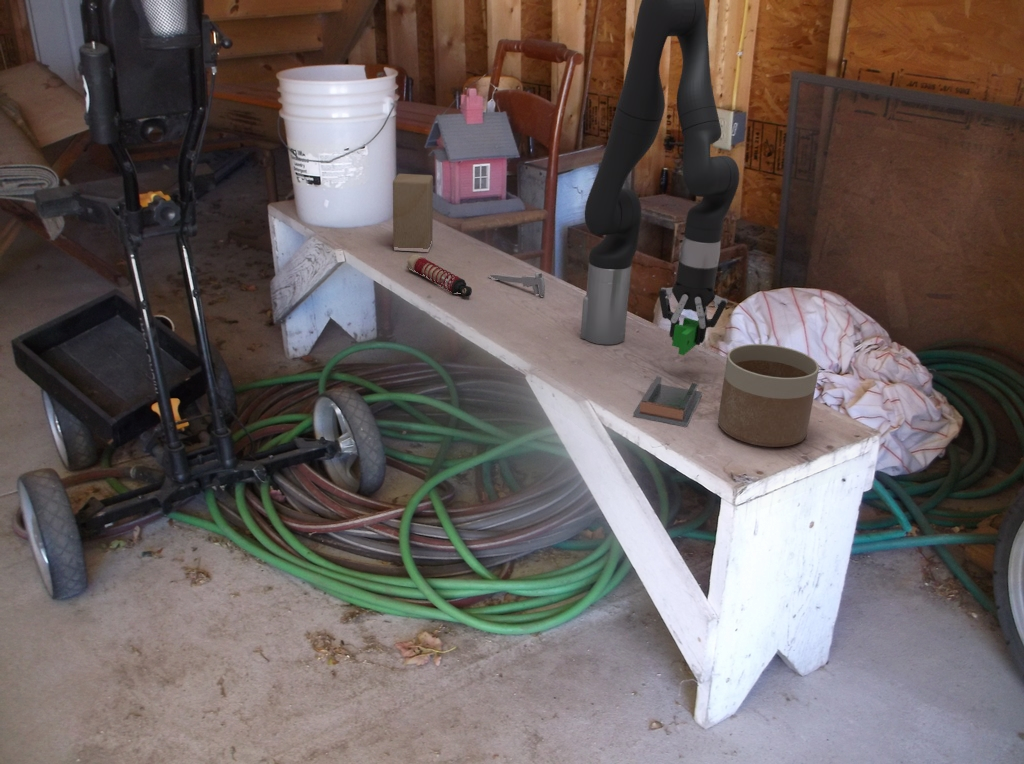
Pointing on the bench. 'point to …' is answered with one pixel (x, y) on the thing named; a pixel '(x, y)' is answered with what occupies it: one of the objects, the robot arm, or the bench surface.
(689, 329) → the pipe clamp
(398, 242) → the wooden block
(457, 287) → the shock absorber
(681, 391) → the steel channel
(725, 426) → the planter
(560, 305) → the bench surface
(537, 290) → the caliper
